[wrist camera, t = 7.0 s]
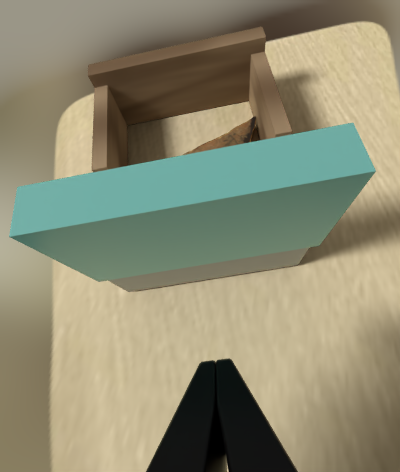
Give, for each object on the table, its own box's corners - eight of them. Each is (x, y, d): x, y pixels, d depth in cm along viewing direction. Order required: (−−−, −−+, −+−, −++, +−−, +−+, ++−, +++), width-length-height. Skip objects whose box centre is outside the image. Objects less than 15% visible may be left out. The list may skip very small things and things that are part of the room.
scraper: (305, 263, 17) (375, 171, 8) (121, 293, 18) (9, 236, 9) (297, 234, 18) (352, 122, 9) (121, 264, 19) (17, 187, 10)
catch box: (282, 170, 20) (295, 118, 16) (116, 201, 21) (83, 159, 17) (257, 88, 24) (262, 26, 19) (116, 117, 25) (88, 64, 20)
